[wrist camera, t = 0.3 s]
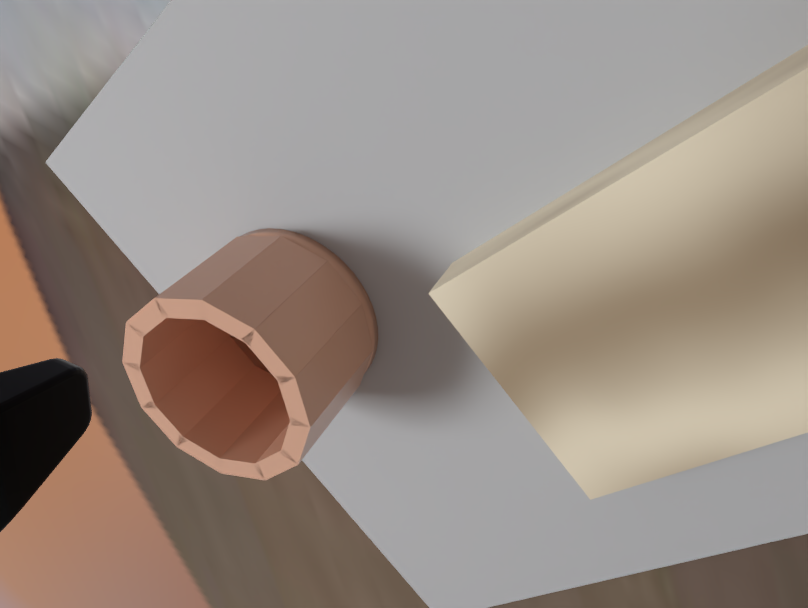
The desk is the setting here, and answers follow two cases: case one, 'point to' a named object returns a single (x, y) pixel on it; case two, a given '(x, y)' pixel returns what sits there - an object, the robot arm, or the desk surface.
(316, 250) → the bowl
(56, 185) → the desk surface
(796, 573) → the desk surface
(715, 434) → the lid board
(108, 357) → the desk surface
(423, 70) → the desk mat
